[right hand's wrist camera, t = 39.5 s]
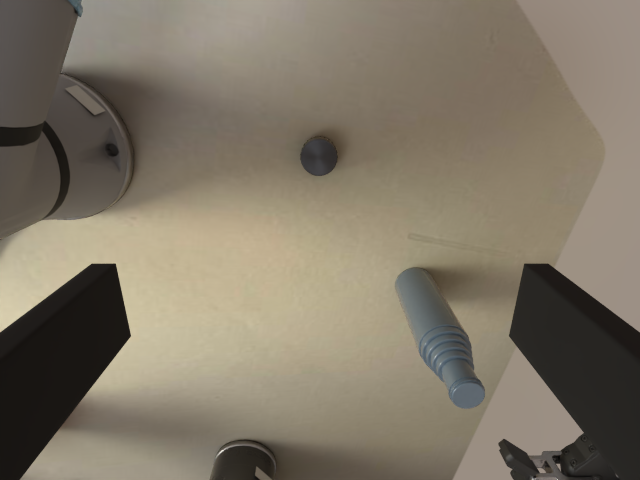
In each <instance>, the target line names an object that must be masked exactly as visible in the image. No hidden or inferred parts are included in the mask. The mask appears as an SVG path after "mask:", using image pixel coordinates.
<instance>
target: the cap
mask: <svg viewBox="0 0 640 480" xmlns="http://www.w3.org/2000/svg"><path fill="white" fill-rule="evenodd" d="M300 155H301V163H302V165H303V167H304V169H305V170H306V171H307V172H309V173H310V174H312V175H316V176H322V175H326V174H328V173H329V172H331V171H332V170H333V168H334V167H335V165H336V162H337V158H338V157H337V150H336V149H335V146H334V145H333V143H332V142H331V141H330V140H329V139H326V138H325V137H321V136H320V137H314V138H311V139H310V140H307V142H306V143H305V144H304V147H303V148H302V152H301V154H300Z"/></svg>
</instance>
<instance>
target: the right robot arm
mask: <svg viewBox="0 0 640 480" xmlns="http://www.w3.org/2000/svg"><path fill="white" fill-rule="evenodd" d="M81 1H82V0H0V239H2V238H4V237H7V236H9V235H11V234H13V233H15V232H17V231H19V230H21V229H24V228H26V227H28V226H30V225H32V224H34V223H36V222H38V221H41V220H53V219H57V220H75V219H81V218H86V217H90V216H93V215H95V214H98V213H99V212H101V211H103V210H105V209H107V208H109V207H110V206H112V205H113V204H114V203H116V202H117V201H118V200H119V199H120V198H121V197H122V195H123V194H124V193H125V191H126V189H127V187H128V186H129V183H130V181H131V177H132V174H133V167H134V153H133V147H132V142H131V139H130V136H129V133H128V130H127V128H126V126H125V124H124V122H123V120H122V119H121V117H120V115H119V114H118V112H117V111H116V110H115V109H114V107H113V106H112V105H111V104H110V103H109V102H108V100H107V99H106V98H104V97H103V96H102V95H101V94H100V93H99V92H97V91H96V90H95V89H94V88H92V87H91V86H89V85H88V84H86V83H84V82H82V81H80V80H78V79H76V78H73V77H71V76H68V75H64V74H60V72H61V69H62V66H63V63H64V60H65V56H66V53H67V50H68V47H69V43H70V40H71V37H72V34H73V31H74V27H75V24H76V21H77V18H78V16H79V17H81V15H82V12H83V8H82V6H81ZM130 337H131V334H130V329H129V325H128V320H127V315H126V310H125V306H124V301H123V296H122V291H121V287H120V282H119V277H118V272H117V268H116V264H91V265H90V266H88V267H87V268H86V269H84V270H83V271H82V272H80V273H79V274H78V275H76V276H75V277H74V278H72V279H71V280H70V281H68V282H67V283H66V284H64V285H63V286H62V287H60V288H59V289H58V290H56V291H55V292H54V293H52V294H51V295H50V296H48V297H47V298H46V299H44V300H43V301H42V302H40V303H39V304H38V305H36V306H35V307H34V308H32V309H31V310H30V311H28V312H27V313H26V314H24V315H23V316H22V317H20V318H19V319H18V320H16V321H15V322H14V323H12V324H11V325H10V326H8V327H7V328H6V329H4V330H3V331H2V332H0V480H20V478H21V477H22V476H23V475H24V473H25V472H26V471H27V469H28V468H29V467H30V466H31V464H32V463H33V462H34V460H35V459H36V458H37V457H38V455H39V454H40V453H41V451H42V450H43V449H44V448H45V446H46V445H47V444H48V442H49V441H50V440H51V439H52V437H53V436H54V435H55V433H56V432H57V431H58V429H59V428H60V427H61V426H62V424H63V423H64V422H65V420H66V419H67V418H68V417H69V415H70V414H71V413H72V411H73V410H74V409H75V408H76V406H77V405H78V404H79V402H80V401H81V400H82V399H83V397H84V396H85V395H86V393H87V392H88V391H89V390H90V388H91V387H92V386H93V384H94V383H95V382H96V380H97V379H98V378H99V377H100V375H101V374H102V373H103V371H104V370H105V369H106V368H107V366H108V365H109V364H110V362H111V361H112V360H113V359H114V357H115V356H116V355H117V353H118V352H119V351H120V350H121V348H122V347H123V346H124V344H125V343H126V342H127V341H128V339H129V338H130ZM509 337H510V338H511V339H512V341H513V342H514V343H515V344H516V346H517V347H518V348H519V350H520V351H521V352H522V353H523V355H524V356H525V357H526V359H527V360H528V361H529V362H530V364H531V365H532V366H533V368H534V369H535V370H536V371H537V373H538V374H539V375H540V377H541V378H542V379H543V380H544V382H545V383H546V384H547V386H548V387H549V388H550V390H551V391H552V392H553V393H554V395H555V396H556V397H557V399H558V400H559V401H560V402H561V404H562V405H563V406H564V408H565V409H566V410H567V411H568V413H569V414H570V415H571V417H572V418H573V419H574V420H575V422H576V423H577V424H578V426H579V427H580V428H581V429H582V431H583V432H584V433H585V435H586V436H587V437H588V439H589V440H590V441H591V442H592V444H593V445H594V446H595V448H596V449H597V450H598V451H599V453H600V454H601V455H602V457H603V458H604V459H605V460H606V462H607V463H608V464H609V466H610V467H611V468H612V469H613V471H614V472H615V473H616V475H617V476H618V477H619V478H620V480H640V332H638V331H637V330H636V329H634V328H633V327H632V326H630V325H629V324H628V323H626V322H625V321H624V320H622V319H621V318H620V317H618V316H617V315H616V314H614V313H613V312H612V311H610V310H609V309H608V308H606V307H605V306H604V305H602V304H601V303H600V302H598V301H597V300H596V299H594V298H593V297H592V296H590V295H589V294H588V293H586V292H585V291H584V290H582V289H581V288H580V287H578V286H577V285H576V284H574V283H573V282H572V281H570V280H569V279H568V278H566V277H565V276H564V275H562V274H561V273H560V272H558V271H557V270H556V269H554V268H553V267H552V266H550V265H549V264H524V268H523V272H522V277H521V282H520V287H519V291H518V296H517V301H516V306H515V310H514V315H513V320H512V325H511V329H510V334H509Z"/></svg>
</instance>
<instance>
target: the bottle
mask: <svg viewBox="0 0 640 480" xmlns="http://www.w3.org/2000/svg"><path fill="white" fill-rule="evenodd" d="M395 290H396V293H397V296H398V298H399V301H400V304H401V306H402V309H403V312H404V314H405V317H406V319H407V322H408V325H409V327H410V330H411V333H412V335H413V338H414V340H415V343H416V346H417V348H418V351H419V353H420V356H421V357H422V359H423V360H424V362H425V364H426V365H427V366H428V367H429V368H430V369H431V370H432V371H433V372H434V373H435V374H436V375H437V376H438V377H439V378H440V380H442V381H443V382H444V383H445V385H446V387H447V390H448V394H449V397H450V399H451V400H452V402H453V403H454V404H455V405H456V406H458V407H460V408H464V409H468V408H473V407H476V406H477V405H479V404H480V403H481V402H482V401H483V399H484V397H485V389H484V386H483V385H482V383H481V381H480V380H479V379H478V378H477V376H476V374H475V372H474V365H473V357H472V350H471V343H470V341H469V338H468V335H467V334H466V332H465V330H464V329H463V327H462V325H461V324H460V322H459V320H458V319H457V317H456V315H455V314H454V312H453V311H452V309H451V307H450V306H449V304H448V302H447V301H446V299H445V297H444V296H443V294H442V292H441V291H440V289H439V287H438V286H437V284H436V283H435V281H434V279H433V278H432V276H431V274H430V273H429V272H428V271H426V270H424V269H422V268H410V269H407V270H405V271H404V272H402V273H401V274H400V275H399V276H398V278H397V280H396V282H395Z"/></svg>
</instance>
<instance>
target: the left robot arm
mask: <svg viewBox="0 0 640 480" xmlns="http://www.w3.org/2000/svg"><path fill="white" fill-rule="evenodd" d="M499 446H500V448H501V449H500V450H499V451H500V453H501V455H502V457H503V459H504V461H505V463H506V464H507V466H508V467H510V468H512V469H513V470H512V471H511V476H512V478H513V479H514V480H620V478H619V477H618V476H617V475H616V473H615V472H614V471H613V469H612V468H611V467H610V466H609V464H608V463H607V462H606V460H605V459H604V458H603V457H602V455H601V454H600V453H599V451H598V450H597V449H596V448H595V446H594V445H593V444H592V442H591V441H590V440H589V439H588V437H587V436H586V435H585V433H583V434H582V435H581V436H579V437H578V439H577V440H576V441H575V442H574V443H572V444H570V445H568V446H566V447H565V448H564V449H562V450H561V451H544V452H542V455H541V456H528V455H527V453H526V452H524V451H523V450H521V449H519V448H518V447H516V446H515V445H513V444H512V443H510V442H508V441H507V440H505V439H503V440H502V441H501V442H499ZM556 464H560V466H561V471H560V470H559V468H558V467H557V465H556ZM537 468H543V469H544V470H545V471H546V473H539V471H538V469H537ZM275 472H276V459H275V457H274V455H273V453H272V452H271V451H270V450H269V449H268V448H266V447H265V446H263V445H261V444H259V443H256V442H252V441H235V442H231V443H229V444H226V445H225V446H223V447H222V448H221V449H220V450H219V451H218V452H217V454H216V457H215V460H214V466H213V470H212V473H211V477H210V480H274V475H275Z"/></svg>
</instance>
